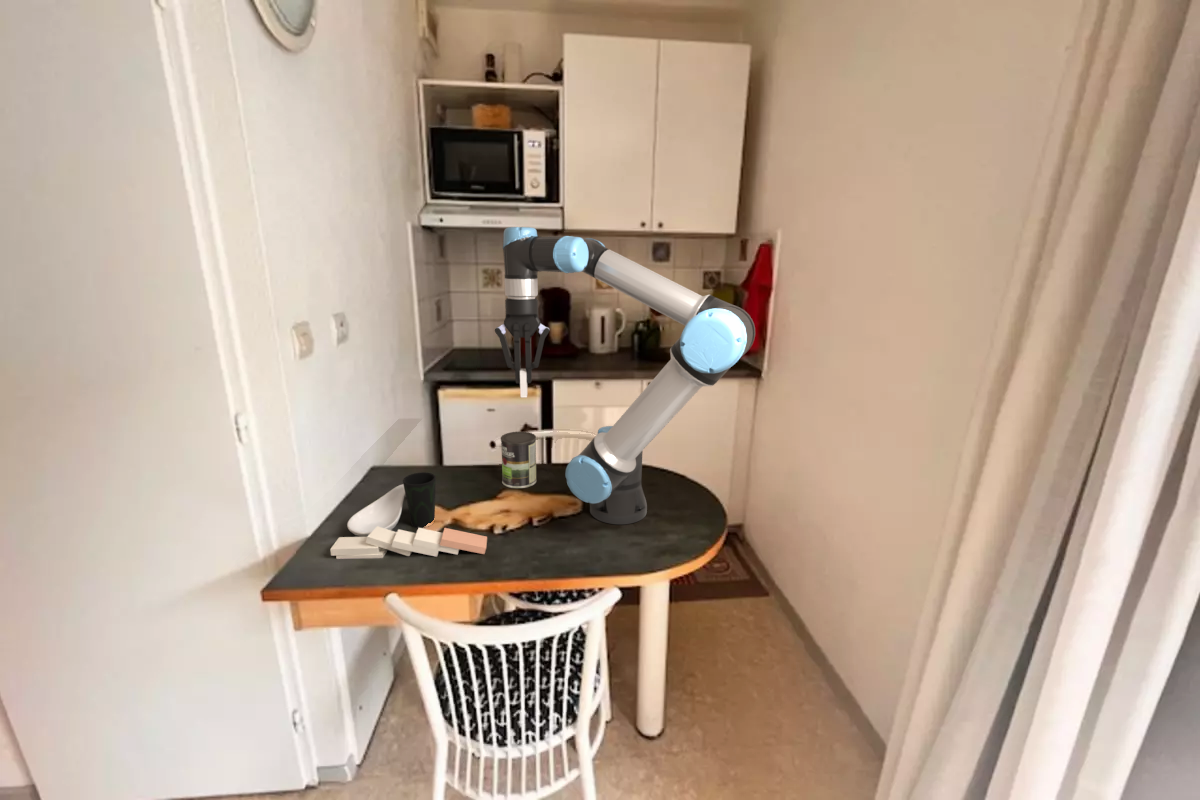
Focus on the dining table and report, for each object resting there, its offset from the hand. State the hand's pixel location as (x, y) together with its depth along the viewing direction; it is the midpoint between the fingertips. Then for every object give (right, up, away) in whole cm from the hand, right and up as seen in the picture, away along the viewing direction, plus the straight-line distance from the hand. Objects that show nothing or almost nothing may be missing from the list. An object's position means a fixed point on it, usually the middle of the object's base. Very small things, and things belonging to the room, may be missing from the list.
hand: (524, 395), depth 127 cm
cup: (-26, -32, +5) cm, 42 cm away
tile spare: (-8, -35, -7) cm, 36 cm away
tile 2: (-18, -35, -8) cm, 40 cm away
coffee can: (-6, -26, +30) cm, 40 cm away
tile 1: (-14, -34, -7) cm, 38 cm away
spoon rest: (-35, -32, +6) cm, 48 cm away
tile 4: (-31, -34, -9) cm, 47 cm away
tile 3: (-24, -35, -8) cm, 43 cm away
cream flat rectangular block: (-30, -36, -8) cm, 47 cm away
